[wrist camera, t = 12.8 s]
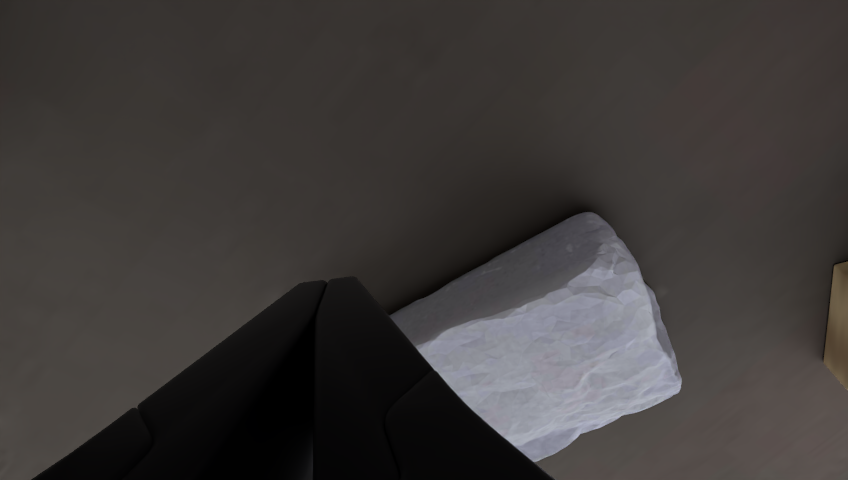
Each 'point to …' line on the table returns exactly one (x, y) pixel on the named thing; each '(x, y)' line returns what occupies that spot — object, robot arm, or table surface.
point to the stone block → (549, 337)
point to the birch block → (838, 325)
